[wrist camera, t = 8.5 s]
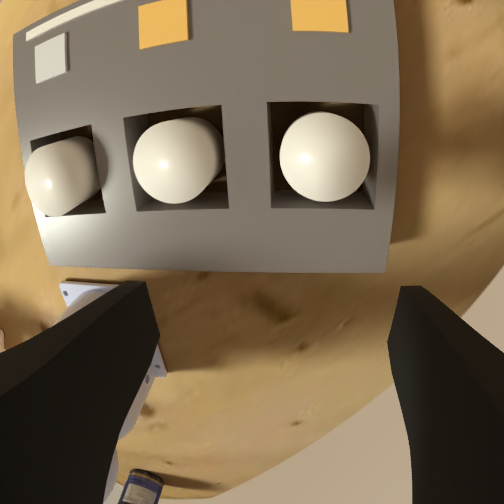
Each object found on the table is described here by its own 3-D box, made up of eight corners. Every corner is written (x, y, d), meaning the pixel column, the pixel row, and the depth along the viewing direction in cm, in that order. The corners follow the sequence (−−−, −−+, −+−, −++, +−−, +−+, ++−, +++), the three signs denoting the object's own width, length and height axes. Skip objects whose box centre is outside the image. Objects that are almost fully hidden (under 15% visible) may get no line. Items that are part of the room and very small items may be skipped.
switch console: (373, 247, 19) (386, 274, 16) (72, 246, 21) (48, 267, 18) (373, -18, 11) (388, -38, 8) (42, 36, 14) (11, 34, 11)
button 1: (355, 185, 16) (367, 202, 14) (282, 184, 17) (280, 201, 14) (357, 112, 15) (370, 115, 12) (280, 110, 15) (277, 112, 13)
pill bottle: (154, 484, 44) (138, 533, 34) (125, 469, 42) (106, 519, 32) (171, 481, 41) (154, 535, 31) (139, 466, 40) (119, 521, 30)
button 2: (110, 196, 17) (82, 215, 15) (62, 201, 18) (33, 218, 15) (99, 130, 16) (68, 140, 13) (51, 142, 16) (19, 152, 13)
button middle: (228, 185, 17) (216, 202, 15) (161, 188, 18) (139, 205, 15) (222, 113, 16) (208, 116, 13) (153, 121, 16) (128, 126, 13)
